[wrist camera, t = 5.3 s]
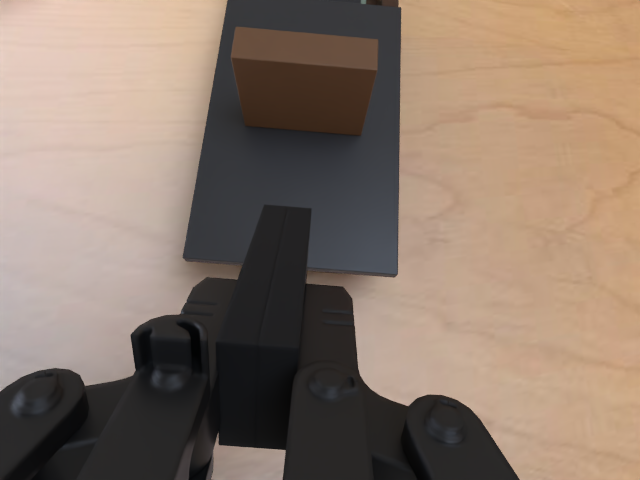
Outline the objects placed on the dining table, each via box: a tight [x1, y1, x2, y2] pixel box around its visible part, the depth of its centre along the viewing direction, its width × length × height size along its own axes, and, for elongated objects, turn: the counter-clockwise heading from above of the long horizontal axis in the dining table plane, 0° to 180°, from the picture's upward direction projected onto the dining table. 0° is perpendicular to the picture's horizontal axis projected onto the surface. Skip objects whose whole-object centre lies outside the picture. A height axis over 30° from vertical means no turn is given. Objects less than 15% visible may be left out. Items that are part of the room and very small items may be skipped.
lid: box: [183, 0, 401, 277], centre depth 21 cm, size 16×10×6 cm, turn 176°
